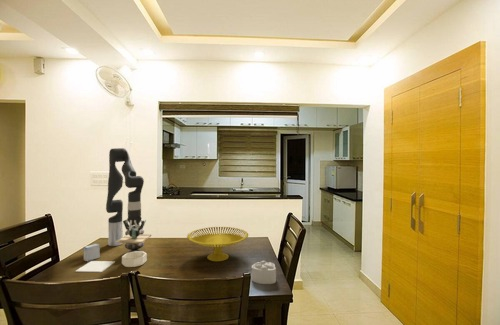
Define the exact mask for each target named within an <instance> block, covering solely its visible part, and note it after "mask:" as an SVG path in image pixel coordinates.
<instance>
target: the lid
mask: <svg viewBox="0 0 500 325" xmlns="http://www.w3.org/2000/svg"><path fill="white" fill-rule="evenodd" d="M151 237H152V234H146V233H143V234H140V235H139V236H138V237H136V229H133V230H132V237H130V235H129V234H128V235H125V236H123V238H121V239H120V240H118V241H116V243H122V244H126V243H140V244H141V243H142V242H144V243H145V242H146V240H148V239H149V238H151Z"/></svg>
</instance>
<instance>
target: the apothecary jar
mask: <svg viewBox="0 0 500 325" xmlns="http://www.w3.org/2000/svg"><path fill="white" fill-rule="evenodd" d="M133 229H136V227H135V225H134V226H133ZM133 229H132V230H133ZM128 234H129V230H126V231H125V236H126V235H128ZM140 234H145V230H144V228H143V229H141V230H140ZM144 245H145V241H144V242H142V243H141V244H140V243H124V248H125V249H126V250H129V251H126V253H130V252H134V251H143V250H142V248H143V247H144Z"/></svg>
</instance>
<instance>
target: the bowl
mask: <svg viewBox="0 0 500 325" xmlns="http://www.w3.org/2000/svg"><path fill="white" fill-rule="evenodd" d="M147 256H148V254H147V252H145V251H144V250H142V251H134V252H130V253H127V252H126V253H125V254H123V255H122V256H121V265H123V266H124V267H126V268H136V267H139V266H142V265H144V264H146V262H147V261H148V258H147Z"/></svg>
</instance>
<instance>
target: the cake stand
mask: <svg viewBox="0 0 500 325" xmlns="http://www.w3.org/2000/svg"><path fill="white" fill-rule="evenodd" d="M186 238H187V240H188V241H190V242H191V243H195V244H196V245H200V246H203V247H208V248H213V252H212V253H210V254H208V256H207V260H209V261H212V262H223V261H225V260H228V259H229V255H228V254H227V253H224V252H223V248H224V247H229V246H233V245H236V244H238V243H240V242H243V241H244V240H247V238H249V233H248V231H245V230H244V229H241V228H239V227H231V226H210V227H209V226H208V227H204V228H203V227H202V228H199V229H195V230H193V231H191V232H189V233H188V234H187V235H186Z"/></svg>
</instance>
